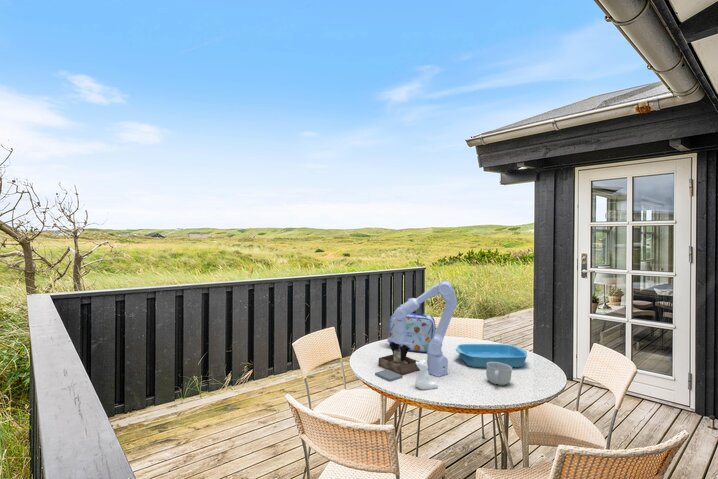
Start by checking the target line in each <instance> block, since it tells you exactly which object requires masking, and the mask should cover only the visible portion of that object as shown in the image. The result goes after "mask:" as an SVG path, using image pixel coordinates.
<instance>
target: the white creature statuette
mask: <svg viewBox="0 0 718 479" xmlns="http://www.w3.org/2000/svg"><path fill="white" fill-rule="evenodd" d="M417 361H419V362H417ZM417 361H416V365H417V367H418V368H419V369H420V370H419V371H417V377H416V379H415V386H416V388H417V389H419V390H421V389H422V391H425V390H433V389H434V390H435V389H437V388H439V384H438V383H437V382H435V381H432V382H431V381H430V379H429V378H430V376H431V374H429V373H428V370H427V369H428V365H427V361H426V360H425V359H420V360H417Z"/></svg>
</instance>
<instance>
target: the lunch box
mask: <svg viewBox="0 0 718 479" xmlns="http://www.w3.org/2000/svg"><path fill="white" fill-rule="evenodd" d="M388 320H389V321H388V338H389V337H391V338H394V322H395V317H394V313H392V315H391V316H390V318H389V319H388ZM437 327H438V326H437V324H436V321H435V318H434V317H433V316H432V315H430V314H425V313H423V312H422V313H413V312H412V313H411V314H409V315H407V316H406V341H408V342H410V343H413V347H412V348H410V349H409V350H408V352H417V353H420V352H421V353H427V352H428V345H429V342H430V340H431V339H432V338H433V337H434V334H435V332H436V329H437ZM390 344H391V342H388V345H390ZM401 346H403V345H399V348H398V349H400V347H401Z"/></svg>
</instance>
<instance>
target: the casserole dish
mask: <svg viewBox="0 0 718 479" xmlns="http://www.w3.org/2000/svg"><path fill="white" fill-rule="evenodd" d="M455 351H456V353H458V355H459V357H460V358H461V360H462V361H463V362H464V363H465V364H466V365H468V366H469V367H471V366H472V367H471V368H477V367H479V368H482V369H487V363H488V362H499V363H503V364H507V365H509V366H511V367H518V368H521V367H522V366H523V365H524V364H525V361H526V359H527V357H528V354H527V353H528V352H527V350H526V349H523V348H521V347H517V346H515V345H511V344H502V343H461V344H458V345H457V347H456V348H455ZM479 368H478V369H479Z"/></svg>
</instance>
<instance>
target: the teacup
mask: <svg viewBox="0 0 718 479" xmlns="http://www.w3.org/2000/svg"><path fill="white" fill-rule="evenodd" d="M485 369H486V370H485V372H486V373H485V374H486V378H487V379H488V380H489V382H490V383H491V384H494V385H496V384H498V385H497V386H505V384H506V385H507V384H509V383H510V382H511V379H512V374H513V373H512V371H513V368H512V367H511V366H509V365H507V364H503V363H499V362H488V363H487V368H485Z"/></svg>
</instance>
